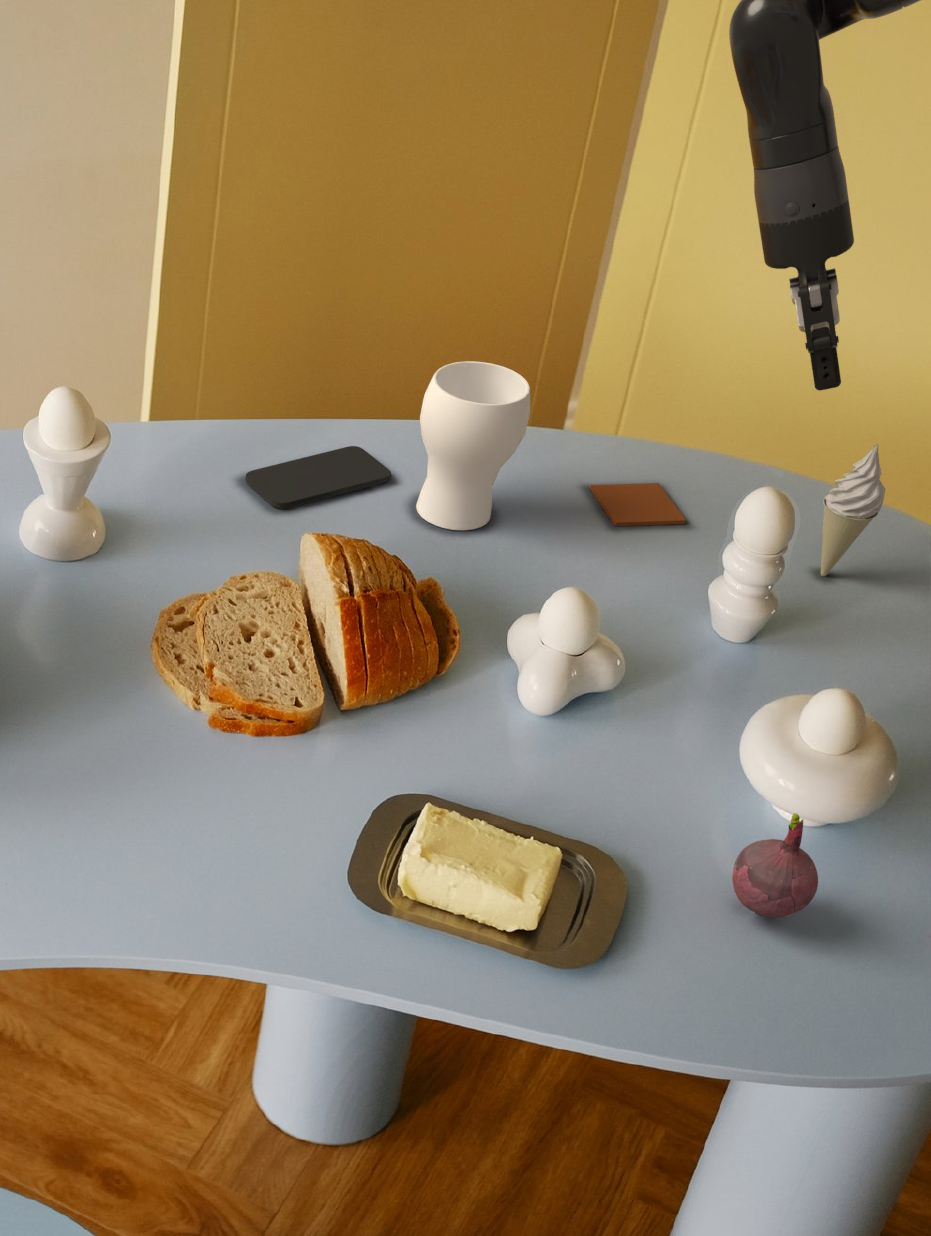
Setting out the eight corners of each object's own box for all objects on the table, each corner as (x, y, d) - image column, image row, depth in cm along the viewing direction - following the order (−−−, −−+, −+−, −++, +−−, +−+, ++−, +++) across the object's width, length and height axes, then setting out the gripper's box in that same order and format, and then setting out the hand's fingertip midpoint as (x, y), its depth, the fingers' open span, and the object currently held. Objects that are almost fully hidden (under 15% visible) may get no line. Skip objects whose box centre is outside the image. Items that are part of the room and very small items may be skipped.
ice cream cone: (845, 594, 163) (900, 461, 154) (792, 579, 165) (843, 447, 156) (854, 571, 167) (909, 439, 157) (802, 556, 169) (852, 425, 159)
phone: (241, 472, 179) (357, 443, 184) (240, 479, 179) (355, 450, 184) (278, 505, 174) (396, 474, 178) (277, 512, 174) (395, 481, 179)
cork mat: (657, 487, 179) (658, 483, 179) (685, 524, 173) (686, 520, 173) (589, 489, 178) (590, 485, 178) (614, 526, 173) (616, 522, 172)
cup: (402, 533, 171) (428, 402, 162) (401, 481, 179) (426, 354, 170) (507, 543, 170) (539, 412, 160) (501, 491, 178) (532, 363, 168)
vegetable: (800, 896, 130) (843, 802, 124) (800, 950, 126) (845, 855, 120) (720, 877, 132) (758, 783, 126) (716, 928, 128) (756, 834, 121)
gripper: (852, 210, 144) (875, 388, 150) (844, 180, 155) (866, 345, 161) (758, 234, 147) (784, 406, 153) (757, 202, 159) (781, 363, 165)
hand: (826, 375), depth 157 cm, fingers open, 8 cm apart
